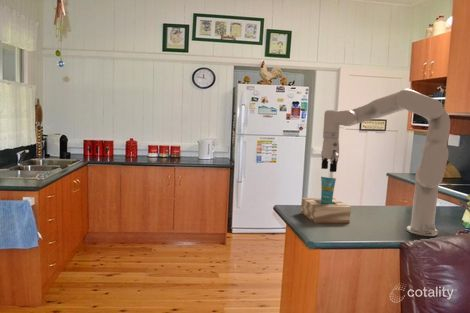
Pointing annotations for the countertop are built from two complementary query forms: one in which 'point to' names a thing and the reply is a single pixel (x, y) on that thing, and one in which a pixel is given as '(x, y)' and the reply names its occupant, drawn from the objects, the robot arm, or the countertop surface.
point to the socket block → (325, 211)
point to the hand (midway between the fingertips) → (328, 170)
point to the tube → (327, 190)
